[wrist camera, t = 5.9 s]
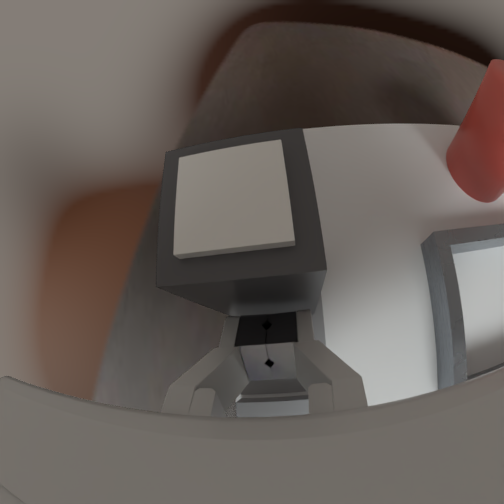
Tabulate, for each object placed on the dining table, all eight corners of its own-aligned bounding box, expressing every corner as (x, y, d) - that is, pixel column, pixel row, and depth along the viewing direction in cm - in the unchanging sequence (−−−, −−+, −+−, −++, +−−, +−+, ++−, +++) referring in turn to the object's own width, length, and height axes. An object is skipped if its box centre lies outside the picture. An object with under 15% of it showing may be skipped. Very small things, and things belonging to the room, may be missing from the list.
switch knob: (306, 246, 15) (301, 119, 6) (314, 314, 14) (327, 266, 5) (240, 254, 15) (161, 145, 7) (244, 320, 14) (148, 283, 6)
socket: (518, 231, 13) (534, 219, 11) (537, 358, 10) (556, 357, 8) (420, 244, 14) (433, 231, 12) (437, 399, 11) (453, 405, 9)
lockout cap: (475, 136, 15) (521, 49, 7) (512, 191, 13) (578, 116, 5) (433, 148, 16) (477, 43, 7) (472, 212, 14) (550, 123, 5)
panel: (476, 136, 16) (487, 118, 14) (533, 365, 11) (554, 365, 9) (229, 150, 19) (220, 129, 17) (243, 431, 14) (232, 445, 12)
